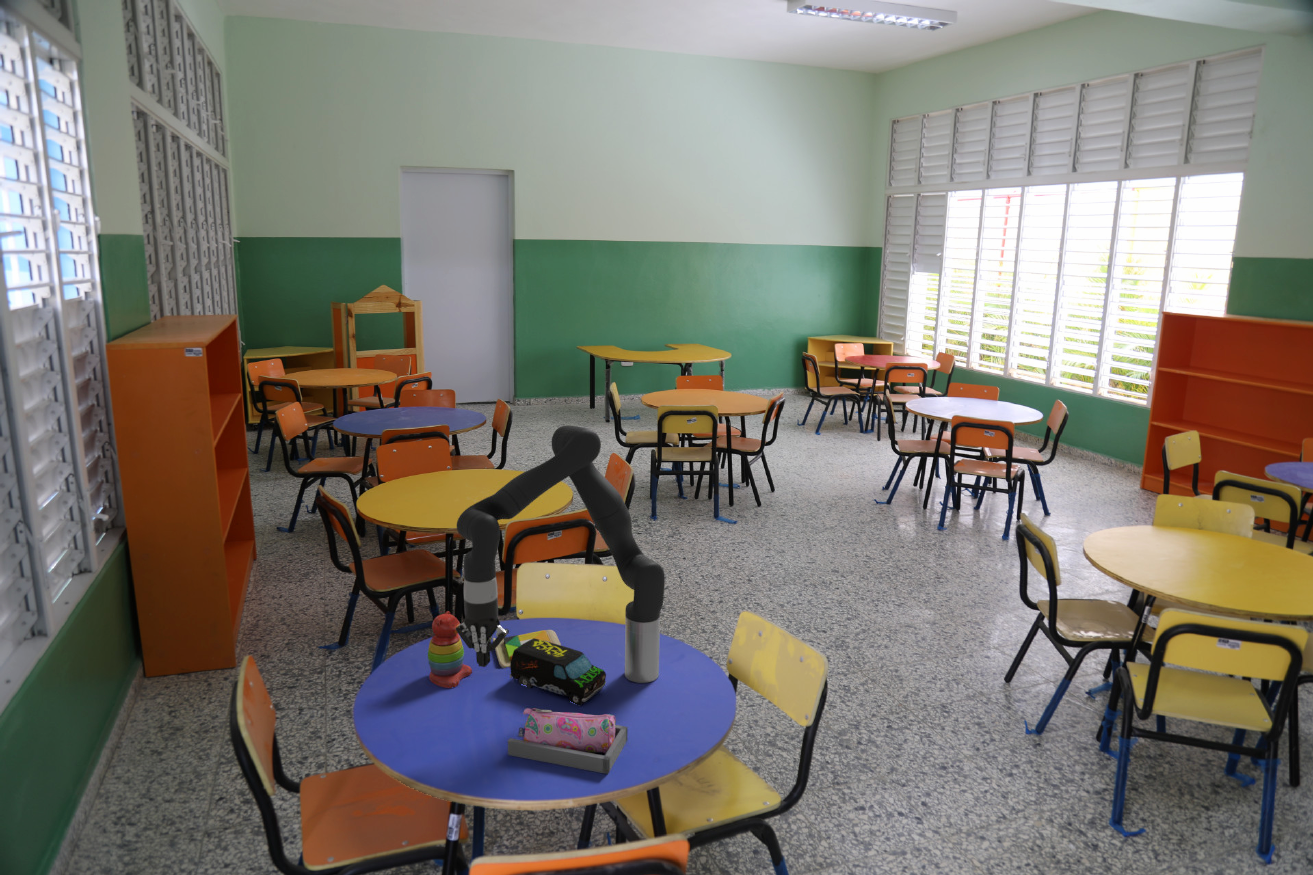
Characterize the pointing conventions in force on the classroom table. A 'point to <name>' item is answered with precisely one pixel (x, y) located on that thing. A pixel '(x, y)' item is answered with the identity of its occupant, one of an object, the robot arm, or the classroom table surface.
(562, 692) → the toy van
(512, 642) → the wooden puzzle
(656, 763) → the classroom table surface
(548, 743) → the pencil case
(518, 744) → the frame
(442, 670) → the stacking bear
